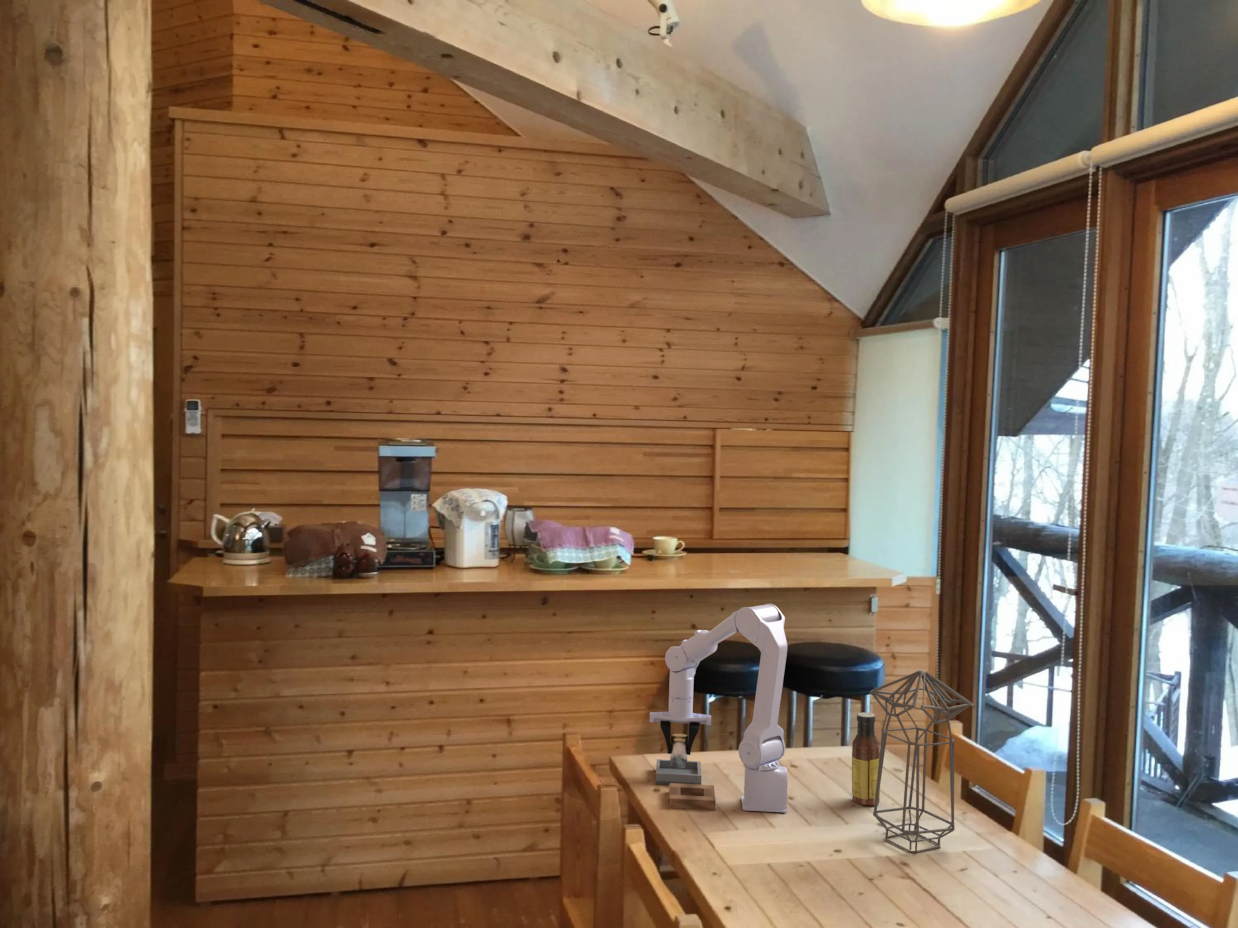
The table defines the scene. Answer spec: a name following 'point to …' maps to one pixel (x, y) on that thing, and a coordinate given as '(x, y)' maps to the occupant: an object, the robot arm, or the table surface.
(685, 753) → the gold and silver cylinder
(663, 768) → the tray
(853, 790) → the sauce bottle
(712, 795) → the block
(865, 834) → the table surface
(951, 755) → the geometric lantern
